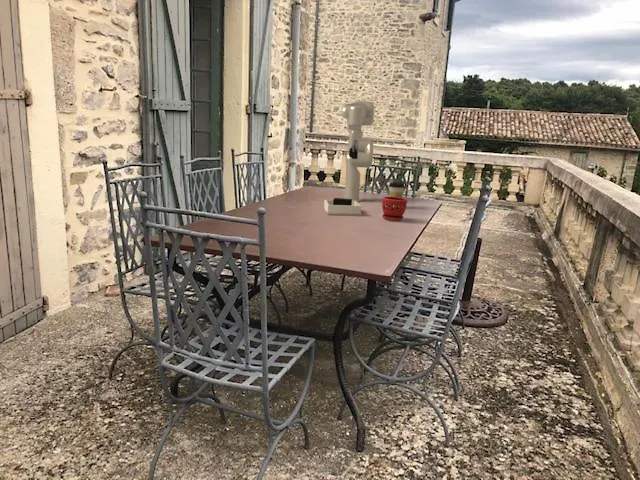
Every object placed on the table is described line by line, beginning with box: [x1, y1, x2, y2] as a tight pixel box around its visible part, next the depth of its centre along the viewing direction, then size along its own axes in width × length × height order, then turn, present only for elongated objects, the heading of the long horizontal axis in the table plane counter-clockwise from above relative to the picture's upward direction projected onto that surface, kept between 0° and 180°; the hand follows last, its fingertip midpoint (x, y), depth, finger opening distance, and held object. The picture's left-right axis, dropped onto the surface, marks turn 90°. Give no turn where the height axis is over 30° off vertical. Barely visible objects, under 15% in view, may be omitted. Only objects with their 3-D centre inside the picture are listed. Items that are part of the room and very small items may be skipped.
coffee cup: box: [388, 181, 406, 207], centre depth 300 cm, size 10×10×15 cm
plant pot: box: [381, 196, 408, 222], centre depth 264 cm, size 13×13×12 cm
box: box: [323, 199, 362, 217], centre depth 277 cm, size 17×19×6 cm
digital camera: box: [332, 197, 352, 206], centre depth 276 cm, size 10×5×7 cm, turn 82°
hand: (353, 158), depth 283 cm, fingers open, 9 cm apart
